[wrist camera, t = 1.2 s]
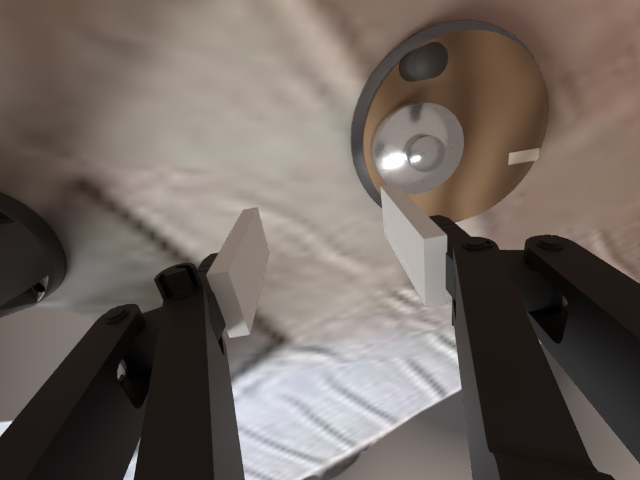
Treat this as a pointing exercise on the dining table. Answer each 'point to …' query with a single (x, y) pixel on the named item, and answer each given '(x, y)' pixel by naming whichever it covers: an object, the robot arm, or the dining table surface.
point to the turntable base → (381, 73)
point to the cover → (417, 146)
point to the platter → (470, 115)
